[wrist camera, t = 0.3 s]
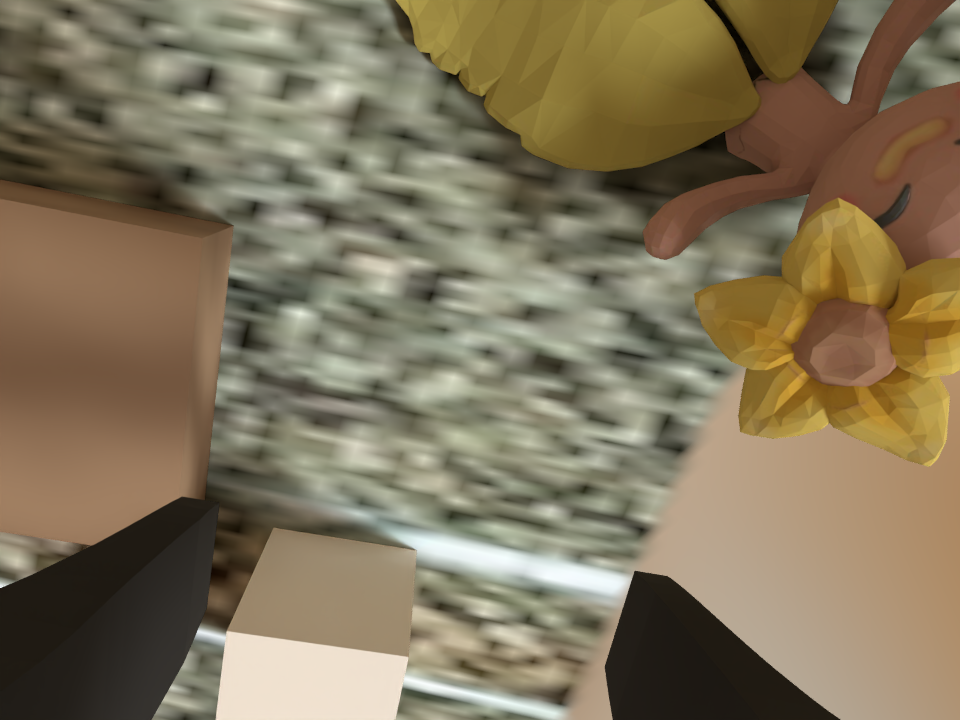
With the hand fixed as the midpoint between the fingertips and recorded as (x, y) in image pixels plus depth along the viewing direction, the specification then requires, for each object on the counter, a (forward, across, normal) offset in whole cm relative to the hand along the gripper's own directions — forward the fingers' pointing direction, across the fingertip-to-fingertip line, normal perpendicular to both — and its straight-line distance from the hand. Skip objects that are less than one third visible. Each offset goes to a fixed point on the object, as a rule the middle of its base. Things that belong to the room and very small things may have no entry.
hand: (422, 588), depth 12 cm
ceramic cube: (+10, +2, +8) cm, 13 cm away
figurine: (+10, -6, -10) cm, 16 cm away
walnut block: (+10, +11, +1) cm, 15 cm away
